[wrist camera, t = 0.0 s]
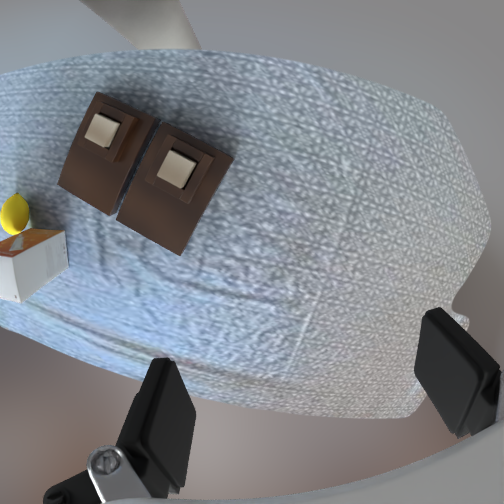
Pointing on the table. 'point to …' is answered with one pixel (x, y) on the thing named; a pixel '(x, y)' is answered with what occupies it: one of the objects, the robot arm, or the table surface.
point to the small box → (31, 262)
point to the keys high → (172, 190)
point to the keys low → (107, 154)
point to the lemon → (14, 214)
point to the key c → (102, 130)
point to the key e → (176, 169)
